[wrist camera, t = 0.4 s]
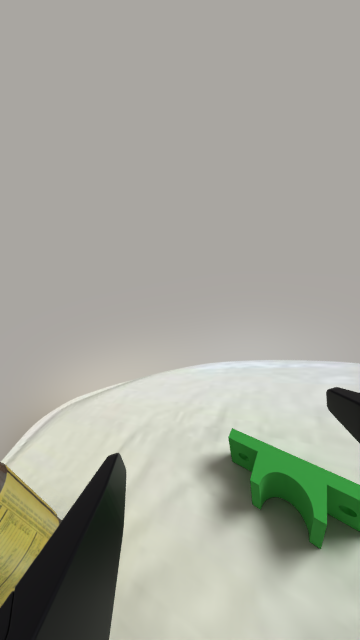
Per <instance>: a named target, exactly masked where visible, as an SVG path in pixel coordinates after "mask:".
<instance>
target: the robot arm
mask: <svg viewBox="0 0 360 640" xmlns="http://www.w3.org/2000/svg"><path fill="white" fill-rule="evenodd" d="M326 396H327V407H328V409H329V411H330V412H331V413H332V414H333V415H334V416H335V417H336V418H337V420H338V421H339V422H340V423H341V424H342V425H343V426H344V427H345V428H346V429H347V430H348V431H349V432H350V433H351V435H352V436H353V437H354V438H355V439H356V440H357V441H358V442H359V443H360V393H357V392H354V391H350V390H346V389H342V388H338V387H335V388H331V389H328V390H327V392H326ZM125 492H126V468H125V465H124V463H123V460H122V458H121V455H120V454H119V453H115V454H112V455H109V456H108V457H107V458H106V460H105V461H104V462H103V464H102V465H101V467H100V468H99V469H98V471H97V472H96V474H95V475H94V476H93V478H92V479H91V481H90V482H89V484H88V485H87V486H86V488H85V489H84V491H83V492H82V493H81V495H80V496H79V498H78V499H77V500H76V502H75V503H74V505H73V506H72V507H71V509H70V510H69V512H68V513H67V515H66V516H65V517H64V519H63V520H62V522H61V523H60V524H59V526H58V527H57V529H56V530H55V531H54V533H53V534H52V536H51V537H50V538H49V540H48V541H47V543H46V544H45V546H44V547H43V548H42V550H41V551H40V553H39V554H38V555H37V557H36V558H35V560H34V561H33V562H32V564H31V565H30V567H29V568H28V569H27V571H26V572H25V574H24V575H23V577H22V578H21V579H20V581H19V582H18V584H17V585H16V587H15V590H14V591H12V592H11V593H10V595H9V596H8V598H7V599H6V600H5V602H4V603H3V605H2V606H1V607H0V640H109V635H110V628H111V620H112V613H113V605H114V597H115V590H116V582H117V575H118V567H119V559H120V552H121V544H122V537H123V528H124V512H125Z"/></svg>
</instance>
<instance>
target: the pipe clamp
mask: <svg viewBox="0 0 360 640" xmlns="http://www.w3.org/2000/svg"><path fill="white" fill-rule="evenodd" d="M228 438H229V444H230V450H231V457H232V461H233V462H234V463H236V464H238V465H240V466H242V467H243V468H245V469H247V470H249V471H251V472H252V475H251V478H250V484H251V494H252V504H253V505H254V506H255V507H257V508H259V509H260V510H261V507H262V505H263V503H264V502H265V501H266V500H267V499H269V498H272V497H278V498H282V499H284V500H286V501H288V502H289V503H291V504H292V505H293V506H294V507H295V508H296V509H297V510H298V511H299V513H300V514H301V516H302V517H303V519H304V521H305V523H306V526H307V528H308V532H309V542H310V543H312V544H314V545H315V546H317V547H318V548H320V549H321V547H322V543H323V539H324V535H325V531H326V527H327V514H328V515H330V516H332V517H334V518H336V519H337V520H339V521H341V522H343V523H345V524H347V525H348V526H350V527H352V528H354V529H356V530H357V531H359V532H360V485H359V484H356V483H354V482H352V481H350V480H347V479H345V478H343V477H341V476H338V475H336V474H334V473H332V472H329V471H327V470H325V469H323V468H320V467H318V466H316V465H314V464H311V463H309V462H307V461H305V460H302V459H300V458H298V457H296V456H293V455H291V454H289V453H287V452H284V451H282V450H280V449H278V448H275V447H273V446H271V445H269V444H266V443H264V442H262V441H260V440H257V439H255V438H253V437H251V436H248V435H246V434H244V433H242V432H239V431H237V430H235V429H233V428H232V430H231V432H230V435H229V437H228Z"/></svg>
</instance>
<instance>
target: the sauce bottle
mask: <svg viewBox="0 0 360 640" xmlns="http://www.w3.org/2000/svg"><path fill="white" fill-rule="evenodd" d="M61 522H62V520H60V519H59V518H58V517H57V514H56V513H55V511H54V510H53V509H52V508H51V507H50V506H49V505H48V504H47V503H46V502H45V501H43V500H42V499H41V498H40V497H39V496H38V495H37V494H36V493H35V492H34V491H33V490H32V489H31V488H30V487H29V486H27V485H26V484H25V483H24V482H23V481H22V480H21V479H20V478H19V477H18V476H17V475H16V474H15V473H14V472H13V471H12V470H10V469H9V468H8V467H7V466H6V465H5V464H4V463H1V462H0V607H1V606H2V605H3V603H4V602H5V600H6V599H7V598H8V596H9V595H10V593H11V592H12V591H14V590H15V587H16V585H17V584H18V582H19V581H20V579H21V578H22V577H23V575H24V574H25V572H26V571H27V569H28V568H29V567H30V565H31V564H32V562H33V561H34V560H35V558H36V557H37V555H38V554H39V553H40V551H41V550H42V548H43V547H44V546H45V544H46V543H47V541H48V540H49V538H50V537H51V536H52V534H53V533H54V531H55V530H56V529H57V527H58V526H59V524H60V523H61Z"/></svg>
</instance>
